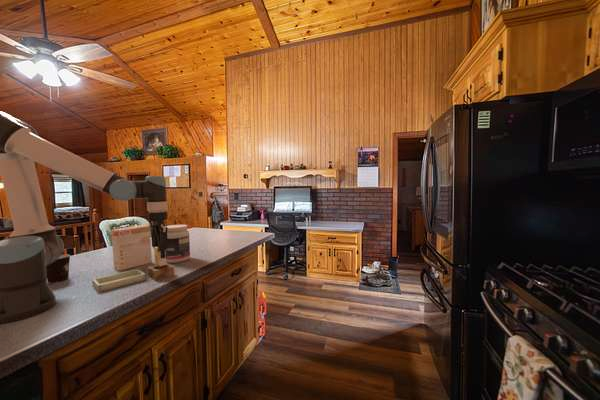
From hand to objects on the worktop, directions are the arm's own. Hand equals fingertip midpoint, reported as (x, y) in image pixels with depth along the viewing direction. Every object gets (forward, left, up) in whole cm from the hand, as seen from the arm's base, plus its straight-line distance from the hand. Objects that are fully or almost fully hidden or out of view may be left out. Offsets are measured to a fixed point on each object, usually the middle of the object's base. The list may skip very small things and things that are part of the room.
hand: (160, 264), depth 110 cm
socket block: (0, 0, -5) cm, 5 cm away
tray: (-14, +5, -5) cm, 16 cm away
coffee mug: (-29, +32, -5) cm, 44 cm away
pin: (0, 0, -5) cm, 5 cm away
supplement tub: (+15, +19, -5) cm, 25 cm away
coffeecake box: (-3, +28, -5) cm, 29 cm away
